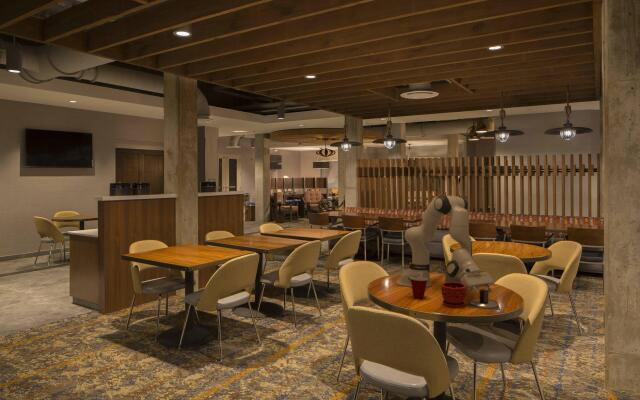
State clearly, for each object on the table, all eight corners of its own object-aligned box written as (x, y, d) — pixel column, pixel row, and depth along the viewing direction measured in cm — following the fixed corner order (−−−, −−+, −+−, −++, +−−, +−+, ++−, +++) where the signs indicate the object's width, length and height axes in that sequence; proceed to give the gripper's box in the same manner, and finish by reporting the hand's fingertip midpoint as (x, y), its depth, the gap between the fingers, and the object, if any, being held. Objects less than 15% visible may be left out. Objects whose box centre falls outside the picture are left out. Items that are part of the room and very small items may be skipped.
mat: (469, 308, 248) (469, 307, 248) (468, 300, 263) (468, 300, 263) (500, 310, 243) (500, 310, 243) (497, 302, 259) (497, 302, 259)
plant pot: (438, 302, 259) (438, 281, 259) (460, 302, 260) (460, 281, 260) (446, 309, 246) (446, 287, 246) (469, 308, 247) (470, 287, 247)
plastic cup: (430, 296, 272) (430, 277, 271) (424, 301, 262) (425, 280, 262) (412, 294, 277) (413, 275, 277) (406, 298, 268) (407, 278, 267)
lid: (465, 303, 256) (465, 288, 256) (483, 300, 263) (483, 286, 262) (484, 309, 244) (484, 294, 243) (502, 306, 250) (503, 291, 250)
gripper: (482, 273, 268) (495, 293, 259) (455, 276, 258) (468, 297, 250) (488, 267, 263) (501, 287, 255) (461, 270, 254) (474, 291, 246)
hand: (484, 292), depth 252 cm, fingers open, 8 cm apart
